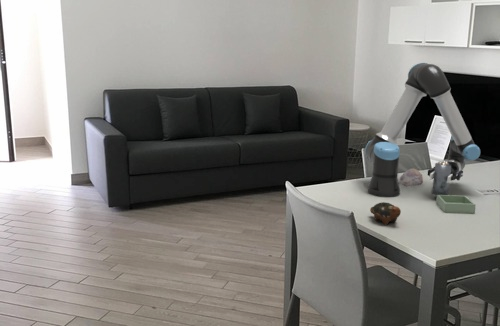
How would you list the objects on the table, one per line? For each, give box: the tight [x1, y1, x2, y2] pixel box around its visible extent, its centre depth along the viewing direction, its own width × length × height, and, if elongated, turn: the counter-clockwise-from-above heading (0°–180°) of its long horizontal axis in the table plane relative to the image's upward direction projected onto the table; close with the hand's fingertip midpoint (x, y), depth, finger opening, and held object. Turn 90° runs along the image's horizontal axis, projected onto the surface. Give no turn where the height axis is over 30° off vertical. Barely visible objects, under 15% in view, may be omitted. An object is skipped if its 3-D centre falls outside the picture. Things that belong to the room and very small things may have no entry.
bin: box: [435, 194, 476, 215], centre depth 232 cm, size 13×13×4 cm
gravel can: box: [431, 160, 452, 197], centre depth 243 cm, size 7×7×16 cm
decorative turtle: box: [369, 201, 402, 226], centre depth 214 cm, size 10×15×8 cm, turn 36°
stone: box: [398, 168, 424, 188], centre depth 273 cm, size 17×10×10 cm
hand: (439, 178), depth 239 cm, fingers closed on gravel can, 7 cm apart
